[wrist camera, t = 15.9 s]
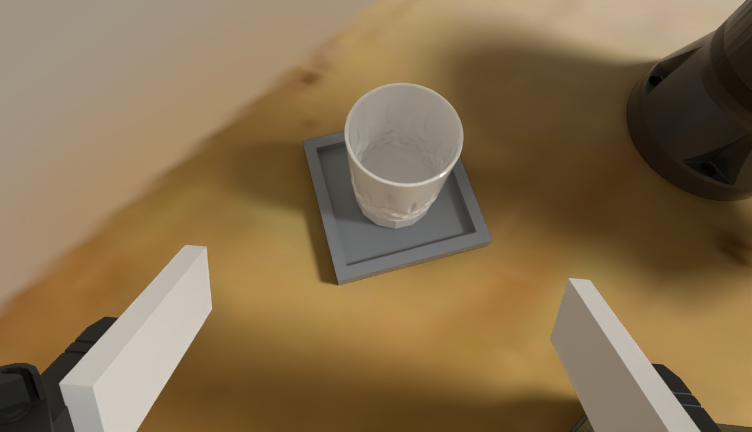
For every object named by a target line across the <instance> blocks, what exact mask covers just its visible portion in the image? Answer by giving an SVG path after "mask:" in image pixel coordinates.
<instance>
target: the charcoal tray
mask: <svg viewBox="0 0 752 432" xmlns="http://www.w3.org/2000/svg"><path fill="white" fill-rule="evenodd" d="M302 142H303V146H304V150H305V154H306V158H307V162H308V166H309V170H310V174H311V178H312V182H313V186H314V190H315V193H316V197H317V201H318V205H319V209H320V213H321V217H322V221H323V225H324V229H325V233H326V237H327V241H328V245H329V249H330V253H331V257H332V261H333V265H334V269H335V273H336V277H337V281H338V284H339V285H342V284H346V283H350V282H353V281H357V280H361V279H365V278H368V277H372V276H376V275H379V274H383V273H387V272H391V271H394V270H398V269H402V268H406V267H409V266H413V265H417V264H421V263H424V262H428V261H432V260H435V259H439V258H443V257H447V256H450V255H454V254H458V253H462V252H465V251H469V250H473V249H476V248H480V247H484V246H487V245H488V244H489V243H490V242H491V241H492V239H491V236H490V233H489V231H488V228H487V226H486V223H485V220H484V218H483V215H482V213H481V210H480V207H479V205H478V202H477V200H476V197H475V194H474V192H473V189H472V187H471V184H470V182H469V179H468V176H467V174H466V171H465V169H464V166H463V163H462V161H461V158H460V156H459V158H458V160H457V162H456V163H455V165H454V167H453V169H452V171H451V173H450V174H449V176H448V178H447V180H446V182H445V184H444V186H443V188H442V189H441V191H440V193H439V194H438V196H437V198H436V199H435V201H434V202H433V203H432V204H431V206H430V207H429V209H428V211H427V213H426V215H425V216H423V217H422V218H421V219H419V220H418V221H417V222H416V223H414V224H413V225H411V226H406V227H402V228H397V229H393V228H388V227H383V226H379V225H376V224H375V223H374V222H372V221H371V220H370V219H368V218H367V217H366V216H364V215H363V213H362V211H361V209H360V207H359V205H358V204H357V202H356V199H355V192H354V189H353V186H352V181H351V176H350V170H349V164H348V157H347V150H346V144H345V137H344V131H343V132H339V133H335V134H330V135H326V136H321V137H317V138H312V139H308V140H303V141H302Z"/></svg>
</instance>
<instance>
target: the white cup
mask: <svg viewBox="0 0 752 432" xmlns="http://www.w3.org/2000/svg"><path fill="white" fill-rule="evenodd" d="M344 137H345V144H346V150H347V157H348V164H349V170H350V176H351V181H352V186H353V189H354V192H355V199H356V202H357V204H358V205H359V207H360V209H361V211H362V213H363V215H364V216H366V217H367V218H368V219H370V220H371V221H372V222H374V223H375V224H376V225H379V226H383V227H388V228H393V229H397V228H402V227H406V226H411V225H413V224H414V223H416V222H417V221H418V220H419V219H421V218H422V217H423V216H425V215H426V213H427V211H428V209H429V207H430V206H431V204H432V203H433V202H434V201H435V199H436V198H437V196H438V194H439V193H440V191H441V189H442V188H443V186H444V184H445V182H446V180H447V178H448V176H449V174H450V173H451V171H452V169H453V167H454V165H455V163H456V162H457V160H458V158H459V156H460V153H461V151H462V147H463V140H464V134H463V127H462V123H461V120H460V118H459V116H458V114H457V112H456V111H455V109H454V108H453V106H452V105H451V104H450V103H449V102H448V101H447V100H446V99H445V98H444V97H442V96H441V95H440V94H438V93H437V92H435V91H433V90H431V89H429V88H426V87H424V86H421V85H417V84H411V83H392V84H387V85H383V86H380V87H377V88H375V89H373V90H371V91H369V92H367V93H366V94H364V95H363V96H362V97H361V98H360V99H359V100H358V101H357V102H356V103H355V104H354V105H353V107H352V108H351V110H350V112H349V114H348V116H347V119H346V123H345V129H344Z"/></svg>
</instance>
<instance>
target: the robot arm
mask: <svg viewBox="0 0 752 432" xmlns="http://www.w3.org/2000/svg"><path fill="white" fill-rule="evenodd" d="M627 119H628V125H629V129H630V133H631V135H632V138H633V140H634V142H635V144H636V146H637V148H638V150H639V151H640V153H641V154H642V155H643V157H644V158H645V159H646V161H647V162H648V163H649V164H650V165H651V166H652V167H653V168H654V169H655V170H656V171H657V172H658V173H659V174H661V175H662V176H663V177H664V178H666V179H667V180H668V181H670V182H671V183H673V184H675V185H676V186H678V187H680V188H682V189H684V190H686V191H688V192H690V193H693V194H696V195H699V196H702V197H705V198H710V199H715V200H724V201H734V200H743V199H748V198H751V197H752V0H746V1H745V2H744V3H743V4H742V5H741V6H740V7H739V8H738V9H737V10H736V11H735V12H734V13H733V14H732V15H731V16H730V17H729V18H728V19H727V20H726V21H725V22H724V23H723V24H722V25H721V26H720V27H719V28H718V29H717V30H715V31H713V32H711V33H709V34H708V35H706V36H704V37H702V38H700V39H698V40H696V41H695V42H693V43H691V44H689V45H687V46H685V47H683V48H682V49H680V50H678V51H676V52H674V53H672V54H670V55H669V56H667V57H665V58H663V59H662V60H660V61H659V62H658V63H656V64H655V65H654V66H653V67H652V68H651V69H650V70H649V71H648V72H647V73H646V74H645V75H644V76H643V77H642V79H641V80H640V81H639V82H638V83H637V84H636V86H635V87H634V89H633V91H632V93H631V95H630V98H629V101H628V107H627ZM211 310H212V302H211V291H210V280H209V270H208V259H207V248H206V247H205V246H193V245H185V246H184V247H183V248H182V249H181V250H180V251H179V252H178V253H177V254H176V256H175V257H174V258H173V259H172V260H171V261H170V262H169V263H168V264H167V265H166V267H165V268H164V269H163V270H162V271H161V272H160V273H159V274H158V275H157V276H156V278H155V279H154V280H153V281H152V282H151V283H150V284H149V285H148V286H147V287H146V289H145V290H144V291H143V292H142V293H141V294H140V295H139V296H138V297H137V298H136V300H135V301H134V302H133V303H132V304H131V305H130V306H129V307H128V308H127V309H126V311H125V312H124V313H123V314H122V315H121V316H120V317H119V318H113V317H104V318H102V319H101V320H99V321H97V322H96V323H94V324H92V325H91V326H89V327H87V328H86V329H85V330H84V331H83V332H82V333H81V335H80V336H79V337H78V338H77V339H76V340H75V342H73V343H72V344H71V345H70V346H69V347H68V348H67V349H66V350H65V353H62V354H61V355H60V356H59V357H58V358H57V359H56V360H55V361H54V362H53V363H52V364H51V365H50V366H49V367H48V368H47V369H46V370H45V371H44V372H43V373H42V374H41V375H39V372H38V370H37V369H36V367H35V366H33V365H30V364H27V363H14V364H10V365H5V366H1V367H0V432H136V431H137V429H138V428H139V426H140V425H141V423H142V421H143V420H144V418H145V417H146V415H147V413H148V412H149V410H150V409H151V407H152V405H153V404H154V402H155V400H156V399H157V397H158V396H159V394H160V392H161V391H162V389H163V388H164V386H165V384H166V383H167V381H168V379H169V378H170V376H171V375H172V373H173V371H174V370H175V368H176V367H177V365H178V363H179V362H180V360H181V359H182V357H183V355H184V354H185V352H186V350H187V349H188V347H189V346H190V344H191V342H192V341H193V339H194V338H195V336H196V334H197V333H198V331H199V330H200V328H201V326H202V325H203V323H204V321H205V320H206V318H207V317H208V315H209V313H210V312H211ZM550 339H551V342H552V344H553V346H554V348H555V350H556V352H557V354H558V356H559V358H560V360H561V362H562V365H563V367H564V369H565V371H566V373H567V375H568V377H569V379H570V381H571V383H572V386H573V388H574V390H575V392H576V394H577V396H578V398H579V400H580V402H581V404H582V406H583V409H584V411H585V413H586V415H587V417H588V419H589V421H590V423H591V425H592V427H593V430H594V432H722V431H721V430H720V429H719V427H718V426H717V425H716V424H715V422H714V421H713V420H712V418H711V417H710V416H709V415H708V413H707V412H706V411H705V410H704V408H701V404H700V403H699V402H698V401H697V399H696V398H695V397H694V396H692V395H691V392H690V390H689V389H688V388H687V386H686V385H685V384H684V383H683V381H682V380H681V379H680V378H679V377H678V376H677V375H675V374H674V373H673V372H672V371H670V370H669V369H668V368H667V367H665V366H664V365H662V364H651V363H650V362H649V360H648V359H647V358H646V356H645V355H644V354H643V352H642V351H641V349H640V348H639V347H638V345H637V344H636V343H635V341H634V340H633V339H632V337H631V336H630V334H629V333H628V332H627V330H626V329H625V328H624V326H623V325H622V323H621V322H620V321H619V319H618V318H617V317H616V315H615V314H614V313H613V311H612V310H611V308H610V307H609V306H608V304H607V303H606V302H605V300H604V299H603V298H602V296H601V295H600V293H599V292H598V291H597V289H596V288H595V287H594V285H593V284H592V282H591V281H590V280H584V279H573V278H568V281H567V285H566V288H565V291H564V295H563V298H562V301H561V304H560V308H559V311H558V314H557V318H556V321H555V324H554V328H553V331H552V334H551V338H550Z"/></svg>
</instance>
